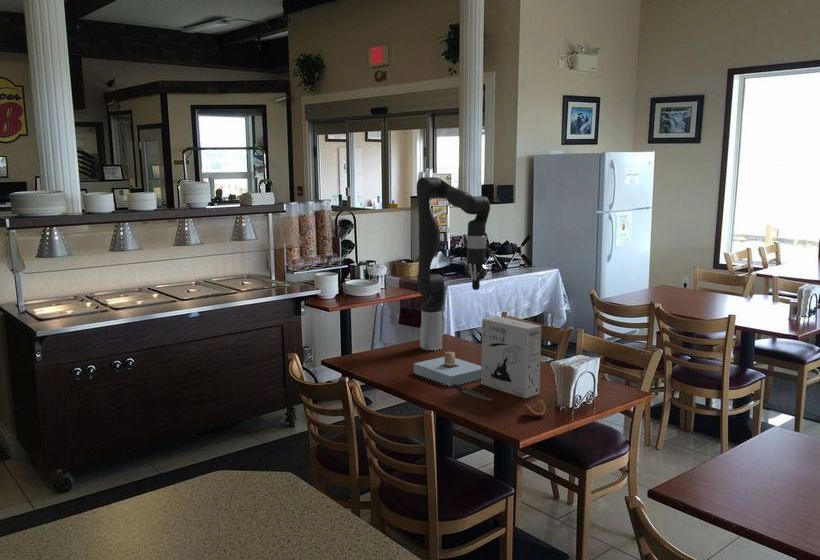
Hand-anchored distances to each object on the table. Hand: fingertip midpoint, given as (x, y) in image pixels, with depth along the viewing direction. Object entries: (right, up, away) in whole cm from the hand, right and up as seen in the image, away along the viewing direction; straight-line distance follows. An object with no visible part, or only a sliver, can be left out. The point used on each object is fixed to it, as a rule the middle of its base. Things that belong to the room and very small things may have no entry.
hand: (475, 289), depth 280 cm
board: (-11, -33, -11) cm, 37 cm away
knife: (-6, -37, -31) cm, 48 cm away
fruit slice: (+13, -40, -55) cm, 70 cm away
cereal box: (+10, -36, -28) cm, 46 cm away
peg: (-11, -33, -11) cm, 37 cm away
